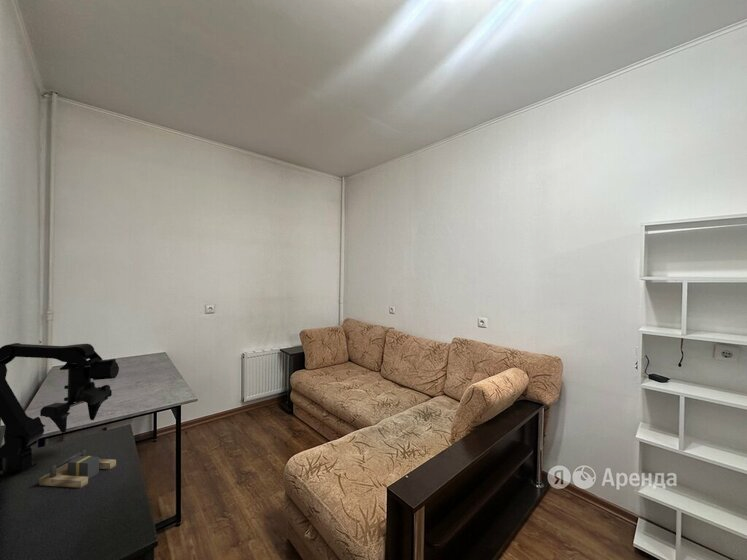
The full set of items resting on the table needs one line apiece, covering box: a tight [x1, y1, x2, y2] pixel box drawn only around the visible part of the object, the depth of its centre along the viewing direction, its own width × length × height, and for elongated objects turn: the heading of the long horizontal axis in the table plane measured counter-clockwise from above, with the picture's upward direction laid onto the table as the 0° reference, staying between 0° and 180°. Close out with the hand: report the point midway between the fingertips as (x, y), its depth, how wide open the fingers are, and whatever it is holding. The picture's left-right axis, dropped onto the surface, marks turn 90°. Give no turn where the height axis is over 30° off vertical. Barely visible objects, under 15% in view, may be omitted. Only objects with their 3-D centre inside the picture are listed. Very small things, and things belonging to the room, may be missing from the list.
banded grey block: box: [67, 455, 100, 480], centre depth 95 cm, size 4×7×5 cm, turn 85°
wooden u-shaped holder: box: [38, 449, 117, 489], centre depth 95 cm, size 14×11×5 cm
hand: (78, 425), depth 103 cm, fingers open, 9 cm apart
